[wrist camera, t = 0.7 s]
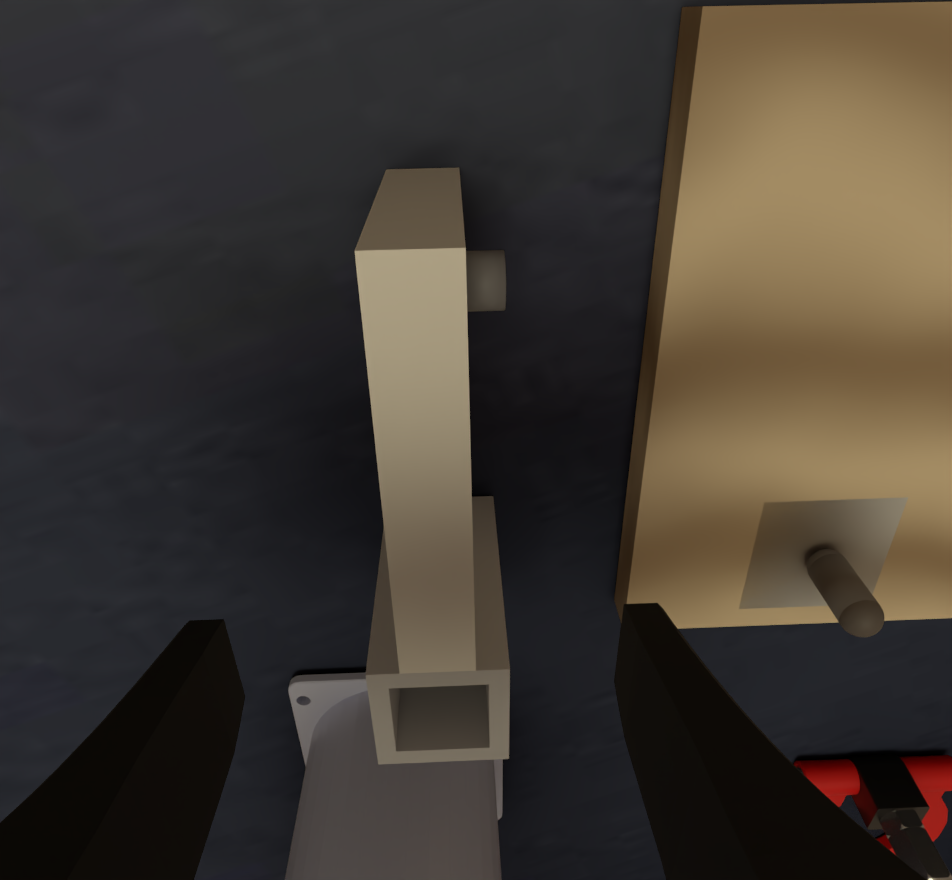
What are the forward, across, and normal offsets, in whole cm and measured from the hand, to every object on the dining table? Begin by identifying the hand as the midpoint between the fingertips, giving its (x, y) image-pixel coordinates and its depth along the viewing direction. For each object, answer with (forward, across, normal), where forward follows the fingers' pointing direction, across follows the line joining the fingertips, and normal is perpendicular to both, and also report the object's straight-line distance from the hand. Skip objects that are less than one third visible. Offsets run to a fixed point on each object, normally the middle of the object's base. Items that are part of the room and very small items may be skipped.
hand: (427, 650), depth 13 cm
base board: (+9, -12, -1) cm, 15 cm away
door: (+9, 0, 0) cm, 9 cm away
